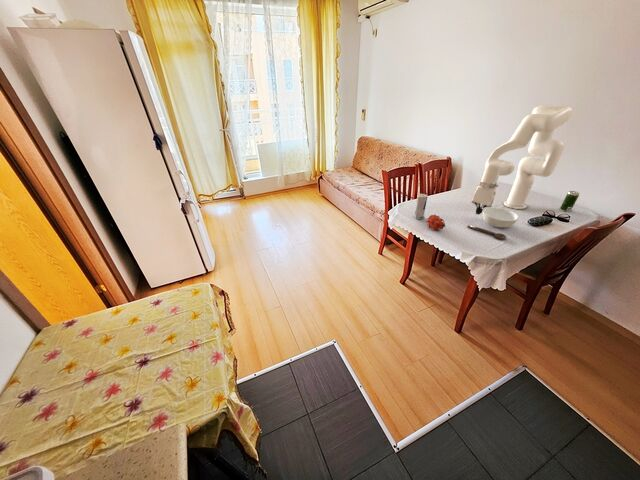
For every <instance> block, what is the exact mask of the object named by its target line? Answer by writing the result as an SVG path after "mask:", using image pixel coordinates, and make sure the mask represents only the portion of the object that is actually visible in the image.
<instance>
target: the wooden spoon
mask: <svg viewBox="0 0 640 480" xmlns="http://www.w3.org/2000/svg"><path fill="white" fill-rule="evenodd" d="M467 228H469V229H472V230H475V231H478V232H480V233H483V234H484V233H485V234H487V235H490V236H493V237H494V238H495V239H497V240H499V241H505V240H507V239H506V238H507V235H505V234H503V233H500V232H498V233H497V232H495V231H491V230H487V229H485V228H481V227H479V226H475V225H472V224H468V225H467Z"/></svg>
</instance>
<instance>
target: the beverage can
mask: <svg viewBox="0 0 640 480" xmlns="http://www.w3.org/2000/svg"><path fill="white" fill-rule="evenodd" d="M427 201H428V195H427V194H425V193H418V194H417V198H416V203H415V209H414V216H413V217H414V218H415V219H419V220H421V219H423V218H425V212H426V206H427Z"/></svg>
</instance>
